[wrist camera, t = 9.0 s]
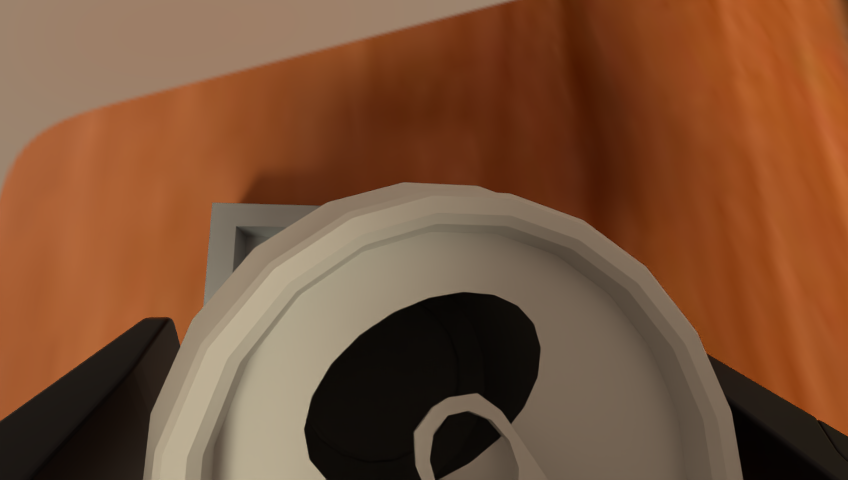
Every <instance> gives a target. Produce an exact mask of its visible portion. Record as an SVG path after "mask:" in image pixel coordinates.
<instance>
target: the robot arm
mask: <svg viewBox="0 0 848 480" xmlns="http://www.w3.org/2000/svg"><path fill="white" fill-rule="evenodd" d="M179 349H180V343H179V340H178V336H177V332H176V329H175V325H174V322H173V320H172V319H171V318H168V317H149V318H145V319H143V320H141V321H140V322H138V323H137V324H136V325H134V326H133V327H131V328H130V329H129V330H127V331H126V332H124V333H123V334H122V335H120V336H119V337H117V338H116V339H115V340H113V341H112V342H110V343H109V344H108V345H106V346H105V347H103V348H102V349H101V350H99V351H98V352H96V353H95V354H94V355H92V356H91V357H89V358H88V359H87V360H85V361H84V362H82V363H81V364H80V365H78V366H77V367H75V368H74V369H73V370H71V371H70V372H68V373H67V374H66V375H64V376H63V377H61V378H60V379H59V380H57V381H56V382H54V383H53V384H52V385H50V386H49V387H47V388H46V389H45V390H43V391H42V392H40V393H39V394H38V395H36V396H35V397H33V398H32V399H31V400H29V401H28V402H26V403H25V404H24V405H22V406H21V407H19V408H18V409H17V410H15V411H14V412H12V413H11V414H10V415H8V416H7V417H5V418H4V419H3V420H1V421H0V480H143V476H144V467H145V458H146V450H147V441H148V432H149V423H150V415H151V412H152V410H153V407H154V405H155V403H156V401H157V398H158V396H159V394H160V392H161V389H162V387H163V385H164V383H165V380H166V378H167V376H168V374H169V371H170V369H171V367H172V365H173V362H174V360H175V358H176V356H177V353H178V351H179ZM707 356H708V359H709V361H710V363H711V366H712V368H713V370H714V373H715V375H716V377H717V379H718V382H719V384H720V386H721V389H722V391H723V393H724V396H725V398H726V400H727V402H728V405H729V407H730V409H731V412H732V417H733V423H734V429H735V435H736V441H737V447H738V453H739V458H740V464H741V470H742V476H743V480H848V436H846V435H844V434H842V433H841V432H839V431H837V430H836V429H834V428H832V427H831V426H829V425H827V424H825V423H824V422H822V421H820V420H816V418H815V417H813V416H812V415H810V414H808V413H807V412H805V411H803V410H802V409H800V408H798V407H796V406H795V405H793V404H791V403H790V402H788V401H786V400H785V399H783V398H781V397H779V396H778V395H776V394H774V393H773V392H771V391H769V390H768V389H766V388H764V387H762V386H761V385H759V384H757V383H756V382H754V381H752V380H751V379H749V378H747V377H745V376H744V375H742V374H740V373H739V372H737V371H735V370H734V369H732V368H730V367H729V366H727V365H725V364H723V363H722V362H720V361H718V360H717V359H715V358H713V357H712V356H710V355H708V354H707Z"/></svg>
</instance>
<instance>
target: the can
mask: <svg viewBox="0 0 848 480" xmlns="http://www.w3.org/2000/svg"><path fill="white" fill-rule="evenodd" d="M143 480H743V476H742V470H741V464H740V458H739V453H738V447H737V441H736V435H735V429H734V423H733V417H732V412H731V409H730V407H729V405H728V402H727V400H726V398H725V396H724V393H723V391H722V389H721V386H720V384H719V382H718V379H717V377H716V375H715V373H714V370H713V368H712V366H711V363H710V361H709V359H708V356H707V354H706V352H705V349H704V347H703V345H702V343H701V340H700V338H699V336H698V333H697V331H696V330H695V329H694V328H693V326H692V325H691V324H690V322H689V321H688V320H687V319H686V317H685V316H684V315H683V313H682V312H681V311H680V310H679V308H678V307H677V306H676V304H675V303H674V302H673V301H672V299H671V298H670V297H669V295H668V294H667V293H666V292H665V290H664V289H663V288H662V286H661V285H660V284H659V283H658V281H657V280H656V279H655V278H654V276H653V275H652V274H651V272H650V271H649V270H648V269H647V267H646V266H644V265H643V264H642V263H640V262H639V261H638V260H636V259H635V258H634V257H632V256H631V255H629V254H628V253H627V252H625V251H624V250H623V249H621V248H620V247H619V246H617V245H616V244H615V243H613V242H612V241H611V240H609V239H608V238H607V237H605V236H604V235H603V234H601V233H600V232H599V231H597V230H596V229H594V228H593V227H592V226H590V225H589V224H588V223H586V222H585V221H584V220H582V219H579V218H576V217H573V216H571V215H568V214H565V213H562V212H560V211H557V210H554V209H551V208H549V207H546V206H543V205H540V204H538V203H535V202H532V201H530V200H527V199H524V198H521V197H519V196H516V195H513V194H510V193H496V192H493V191H491V190H488V189H485V188H482V187H480V186H471V185H450V184H429V183H408V182H403V183H399V184H395V185H391V186H388V187H384V188H380V189H376V190H372V191H369V192H365V193H361V194H357V195H353V196H350V197H346V198H342V199H338V200H334V201H331V202H327V203H325V204H324V205H322V206H321V207H319V208H317V209H316V210H314V211H313V212H311V213H310V214H308V215H306V216H305V217H303V218H302V219H300V220H298V221H297V222H295V223H294V224H292V225H290V226H289V227H287V228H286V229H284V230H282V231H281V232H279V233H278V234H276V235H274V236H273V237H271V238H270V239H268V240H266V241H265V242H263V243H262V244H260V245H258V246H257V247H255V248H254V249H253V250H252V251H251V253H250V254H249V255H248V256H247V257H246V258H245V259H244V261H243V262H242V263H241V264H240V265H239V266H238V268H237V269H236V270H235V271H234V272H233V273H232V275H231V276H230V277H229V278H228V279H227V280H226V281H225V283H224V284H223V285H222V286H221V287H220V288H219V290H218V291H217V292H216V293H215V294H214V295H213V296H212V298H211V299H210V300H209V301H208V302H207V303H206V305H205V306H204V307H203V308H202V309H201V310H200V312H199V313H198V314H197V315H196V316H195V317H194V318H193V320H192V322H191V324H190V326H189V329H188V331H187V333H186V335H185V338H184V340H183V342H182V344H181V347H180V349H179V351H178V353H177V356H176V358H175V360H174V362H173V365H172V367H171V369H170V371H169V374H168V376H167V378H166V380H165V383H164V385H163V387H162V389H161V392H160V394H159V396H158V398H157V401H156V403H155V405H154V407H153V410H152V412H151V415H150V423H149V432H148V441H147V450H146V458H145V467H144V476H143Z"/></svg>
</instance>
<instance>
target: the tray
mask: <svg viewBox="0 0 848 480" xmlns="http://www.w3.org/2000/svg"><path fill="white" fill-rule="evenodd" d="M319 207H321V206H311V205H276V204H241V203H212V214H211V225H210V237H209V249H208V260H207V272H206V284H205V295H204V306H205V305H206V303H207V302H208V301H209V300H210V299H211V298H212V296H213V295H214V294H215V293H216V292H217V291H218V290H219V288H220V287H221V286H222V285H223V284H224V283H225V281H226V280H227V279H228V278H229V277H230V276H231V275H232V273H233V272H234V271H235V270H236V269H237V268H238V266H239V265H240V264H241V263H242V262H243V261H244V259H245V258H246V257H247V256H248V255H249V254H250V253H251V251H252V250H253V249H254V248H255V247H257V246H258V245H260V244H262V243H263V242H265V241H266V240H268V239H270V238H271V237H273V236H274V235H276V234H278V233H279V232H281V231H282V230H284V229H286V228H287V227H289V226H290V225H292V224H294V223H295V222H297V221H298V220H300V219H302V218H303V217H305V216H306V215H308V214H310V213H311V212H313V211H314V210H316V209H317V208H319Z"/></svg>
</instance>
